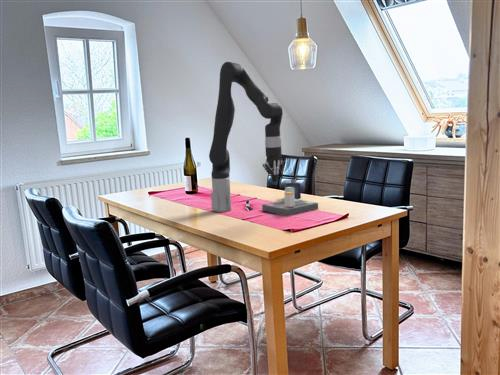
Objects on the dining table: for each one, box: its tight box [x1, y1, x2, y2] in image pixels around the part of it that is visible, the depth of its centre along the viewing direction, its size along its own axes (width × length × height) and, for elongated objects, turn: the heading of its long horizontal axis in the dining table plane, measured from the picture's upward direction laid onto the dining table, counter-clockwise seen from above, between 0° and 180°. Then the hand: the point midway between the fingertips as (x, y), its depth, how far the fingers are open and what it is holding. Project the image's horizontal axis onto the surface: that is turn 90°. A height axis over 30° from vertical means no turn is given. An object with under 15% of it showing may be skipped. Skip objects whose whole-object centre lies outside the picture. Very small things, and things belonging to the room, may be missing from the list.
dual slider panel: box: [261, 198, 319, 217], centre depth 246 cm, size 21×19×3 cm
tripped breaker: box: [284, 191, 296, 207], centre depth 237 cm, size 3×4×7 cm
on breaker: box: [284, 187, 295, 197], centre depth 252 cm, size 3×4×7 cm
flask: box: [284, 178, 302, 200], centre depth 275 cm, size 9×3×11 cm, turn 65°
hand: (275, 182), depth 231 cm, fingers closed
